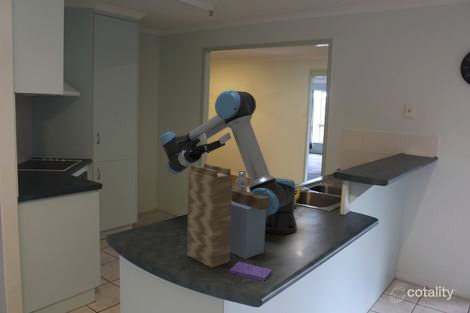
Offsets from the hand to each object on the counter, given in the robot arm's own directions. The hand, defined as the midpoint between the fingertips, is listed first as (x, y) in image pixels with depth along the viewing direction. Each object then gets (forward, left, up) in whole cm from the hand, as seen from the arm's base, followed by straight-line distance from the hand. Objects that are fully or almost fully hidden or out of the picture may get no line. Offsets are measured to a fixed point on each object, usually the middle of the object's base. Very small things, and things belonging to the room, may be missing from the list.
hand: (217, 135), depth 159 cm
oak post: (-2, +28, -42) cm, 50 cm away
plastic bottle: (-8, -40, -42) cm, 58 cm away
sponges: (-18, +37, -42) cm, 59 cm away
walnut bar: (-12, +17, -23) cm, 31 cm away
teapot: (-33, -50, -42) cm, 73 cm away
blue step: (-15, +19, -42) cm, 48 cm away
